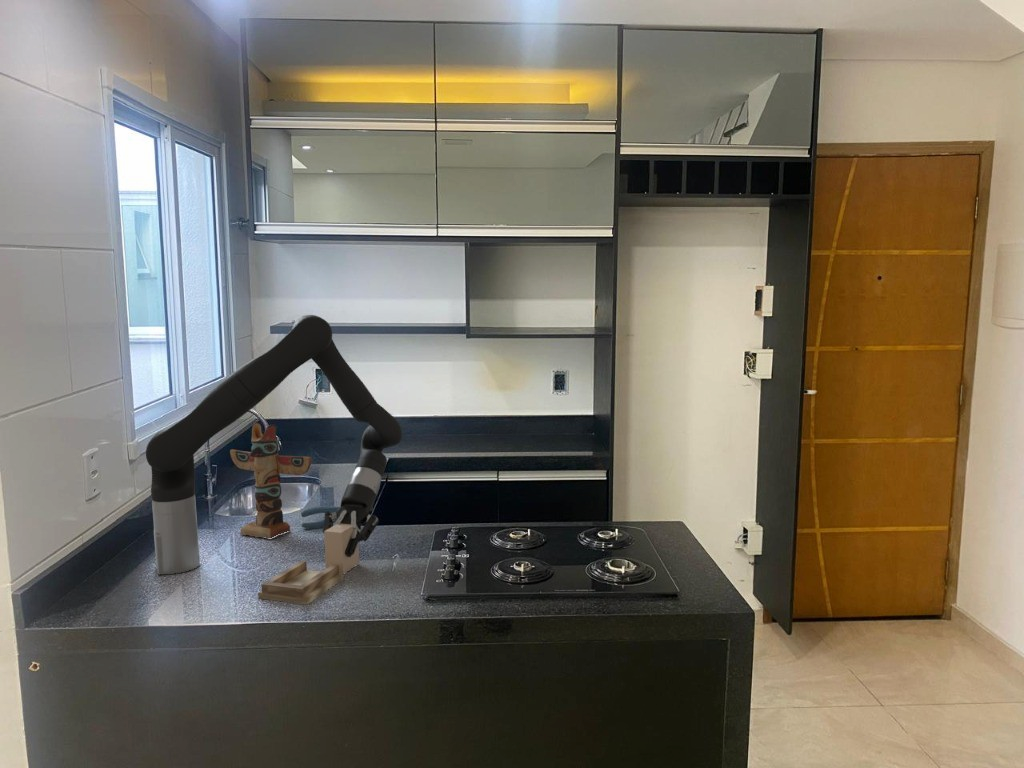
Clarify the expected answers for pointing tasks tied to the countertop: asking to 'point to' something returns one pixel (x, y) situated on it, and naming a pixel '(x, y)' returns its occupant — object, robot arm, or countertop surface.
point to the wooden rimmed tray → (300, 584)
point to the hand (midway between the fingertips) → (337, 554)
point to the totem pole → (268, 480)
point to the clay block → (339, 547)
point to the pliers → (316, 511)
